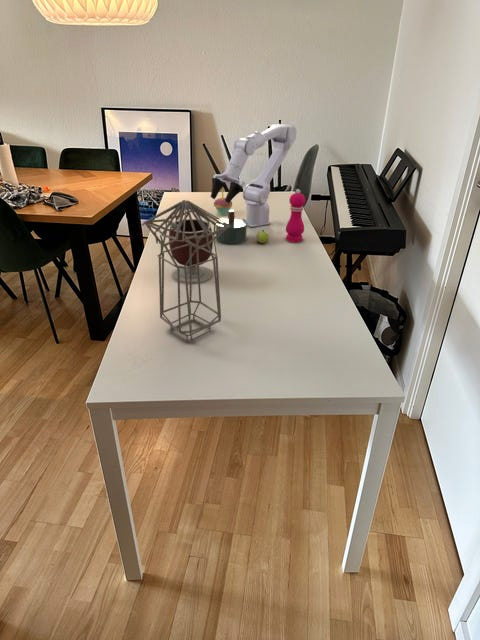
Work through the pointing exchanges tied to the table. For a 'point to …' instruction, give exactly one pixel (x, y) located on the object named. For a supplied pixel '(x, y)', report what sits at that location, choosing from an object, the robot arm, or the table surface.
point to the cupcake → (222, 205)
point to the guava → (262, 237)
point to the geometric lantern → (193, 208)
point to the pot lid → (233, 221)
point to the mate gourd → (184, 252)
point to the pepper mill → (295, 218)
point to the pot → (232, 236)
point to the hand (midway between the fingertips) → (219, 199)
